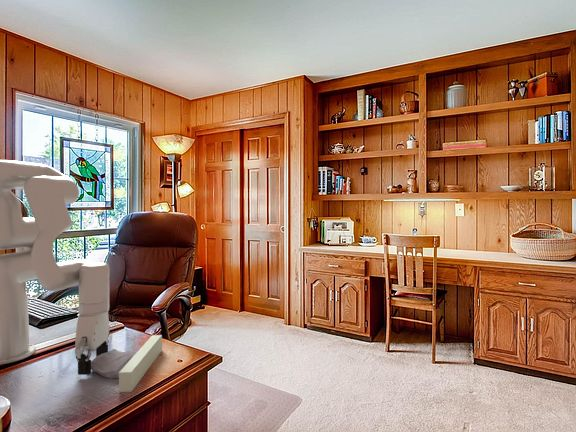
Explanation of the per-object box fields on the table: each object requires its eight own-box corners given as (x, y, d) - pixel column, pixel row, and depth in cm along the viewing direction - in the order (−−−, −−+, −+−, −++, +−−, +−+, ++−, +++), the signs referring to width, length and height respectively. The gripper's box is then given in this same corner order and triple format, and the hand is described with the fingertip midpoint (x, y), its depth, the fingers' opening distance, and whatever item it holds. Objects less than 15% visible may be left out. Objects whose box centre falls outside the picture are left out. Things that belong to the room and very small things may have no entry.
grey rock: (120, 386, 93) (144, 362, 102) (117, 370, 92) (141, 348, 101) (84, 381, 96) (111, 359, 105) (80, 366, 95) (108, 345, 104)
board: (119, 392, 87) (118, 372, 87) (152, 350, 111) (152, 335, 111) (131, 391, 87) (131, 372, 87) (162, 350, 111) (161, 335, 111)
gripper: (96, 297, 106) (95, 351, 107) (62, 316, 89) (61, 381, 90) (121, 297, 107) (120, 352, 108) (92, 317, 89) (91, 381, 90)
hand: (93, 365), depth 99 cm, fingers open, 9 cm apart
